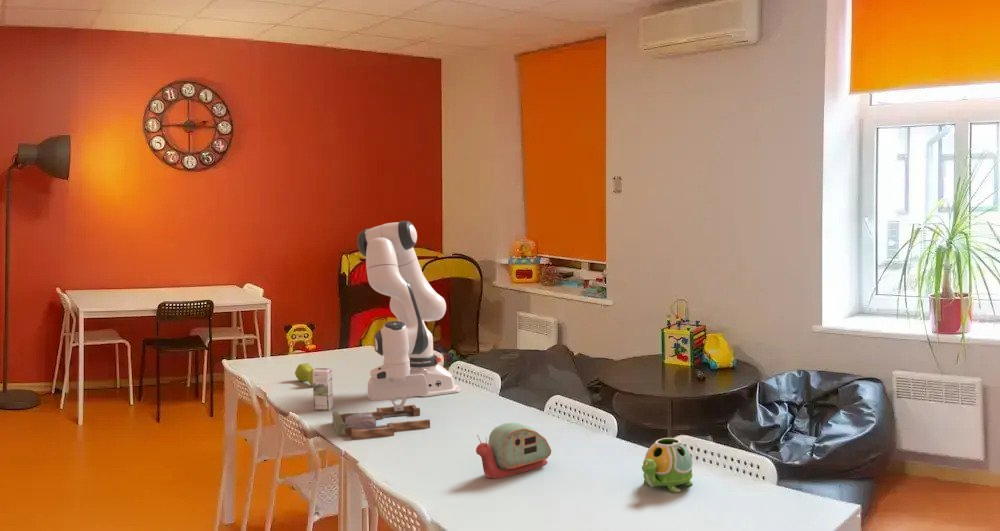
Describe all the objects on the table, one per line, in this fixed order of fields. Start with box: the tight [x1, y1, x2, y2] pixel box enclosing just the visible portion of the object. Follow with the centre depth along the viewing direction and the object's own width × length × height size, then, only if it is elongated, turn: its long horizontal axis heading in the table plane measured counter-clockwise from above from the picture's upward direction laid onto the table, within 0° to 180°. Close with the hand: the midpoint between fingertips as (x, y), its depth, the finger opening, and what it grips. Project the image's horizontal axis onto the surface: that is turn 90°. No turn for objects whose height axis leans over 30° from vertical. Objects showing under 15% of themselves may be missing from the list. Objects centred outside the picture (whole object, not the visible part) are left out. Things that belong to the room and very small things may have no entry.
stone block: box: [344, 413, 377, 430], centre depth 300 cm, size 12×5×10 cm
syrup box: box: [312, 367, 334, 411], centre depth 324 cm, size 6×6×14 cm
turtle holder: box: [641, 437, 694, 494], centre depth 237 cm, size 12×18×12 cm
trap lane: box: [331, 404, 431, 440], centre depth 301 cm, size 30×27×4 cm
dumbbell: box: [294, 362, 315, 387], centre depth 365 cm, size 16×8×7 cm, turn 35°
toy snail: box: [475, 422, 552, 479], centre depth 252 cm, size 25×8×14 cm, turn 129°
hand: (398, 410), depth 304 cm, fingers closed
